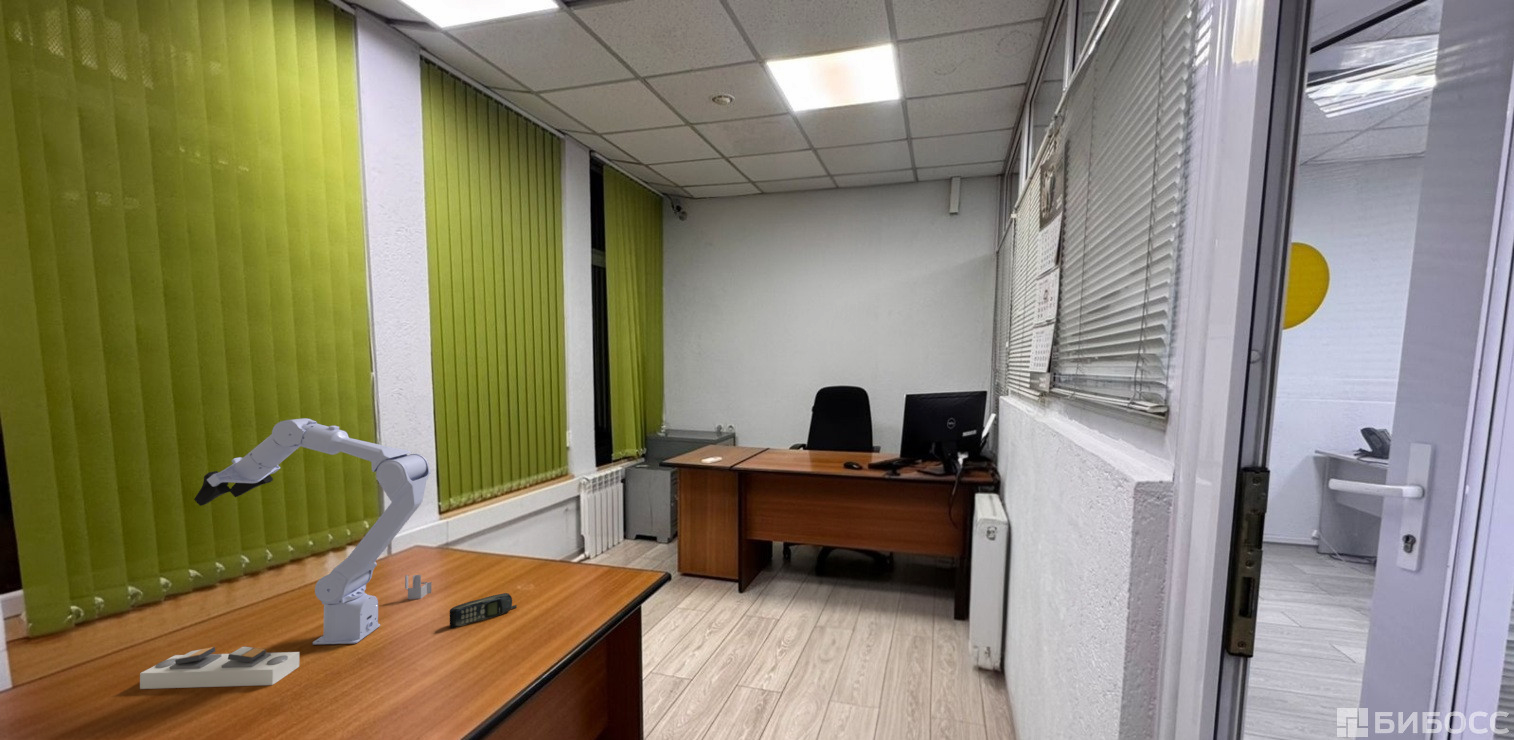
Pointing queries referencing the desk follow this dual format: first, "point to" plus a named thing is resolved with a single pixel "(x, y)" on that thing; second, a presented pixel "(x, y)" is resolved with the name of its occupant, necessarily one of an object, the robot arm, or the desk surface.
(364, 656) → the desk surface
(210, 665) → the rocker switch panel
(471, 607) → the mobile phone
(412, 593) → the architectural model
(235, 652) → the rocker
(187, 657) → the rocker
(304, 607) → the desk surface
